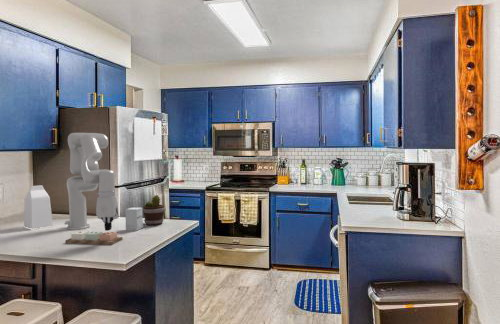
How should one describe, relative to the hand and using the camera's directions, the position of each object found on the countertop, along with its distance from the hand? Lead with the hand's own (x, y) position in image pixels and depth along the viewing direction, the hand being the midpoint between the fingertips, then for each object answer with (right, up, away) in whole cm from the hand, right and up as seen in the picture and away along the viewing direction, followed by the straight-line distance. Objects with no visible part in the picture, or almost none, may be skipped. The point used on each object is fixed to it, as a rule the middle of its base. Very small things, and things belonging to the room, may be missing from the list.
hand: (108, 229), depth 183 cm
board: (-8, -6, +2) cm, 10 cm away
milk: (-59, -6, +39) cm, 71 cm away
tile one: (-16, -5, +3) cm, 17 cm away
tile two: (-8, -5, +2) cm, 9 cm away
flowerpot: (+12, -5, +44) cm, 46 cm away
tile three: (0, -5, 0) cm, 5 cm away
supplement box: (+4, -5, +29) cm, 30 cm away
